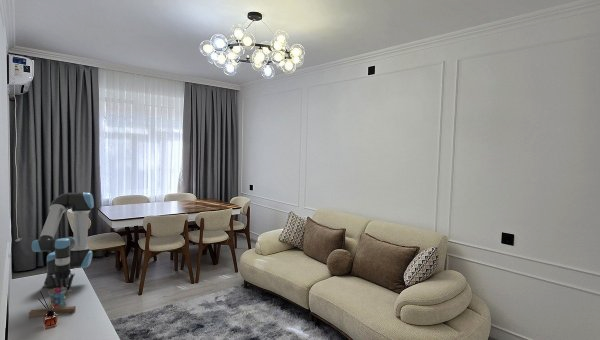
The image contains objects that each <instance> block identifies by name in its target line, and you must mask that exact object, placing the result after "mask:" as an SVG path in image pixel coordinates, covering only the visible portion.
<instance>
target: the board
mask: <svg viewBox="0 0 600 340" xmlns="http://www.w3.org/2000/svg"><path fill="white" fill-rule="evenodd" d="M76 309H77V308H76V305H72V306H64V307H58V308H53V311H54V312H55V313H56V314H61V315H71V314H74V313H76ZM51 310H52V308H49V307H48V308H41V309H40V308H37V309H31V310H30V311H29V312H28V314H29V315H28V316H29V318H36V317H37V318H38V317H39V318H40V317H46V316H45V315H46V314H47V312H48V311H51Z"/></svg>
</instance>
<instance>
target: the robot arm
mask: <svg viewBox="0 0 600 340" xmlns="http://www.w3.org/2000/svg"><path fill="white" fill-rule="evenodd" d="M94 201H95V200H94V196H93V194H92V193H90V192H64V193H62V194H60V195H58V196H57V197H56V198H54V199H53V200H52V202H51V203H50V205H49V212H48V214H47V218H46V220H45V223H44V225H43V228H42V230H41V233H40V236H39V238H38V239H35V240H32V243H31V250H32V252H34V253H42V252H49V254H47V256H46V277H45V280H44V282H43V287H44V288H46V289H53V288H58V287H59V288H61V287H66V288H67V290H68V291H70V290H71V288H72V284H73V279H74V277H75V275H76V273H74V272H73V273H72V272H71V270H72V269H83V268H88V267H89V266H90V265H91V263H92V260H93V250H91V248H90V247H89V246H88V236H89V235H88V233H89V232H88V231H89V213H90V212H91V211H92V209H93V208H94V207H95V205H94V204H95V202H94ZM66 210H71V212H72V213H73V214H74V215H73V236H67V237H62V238H55V236H56V234H57V230H58V229H59V225H60V222H61V220H62V217H63V214H64V213H65V212H66ZM69 289H70V290H69ZM67 290H66V291H67ZM68 291H67V292H66V294H65V296H64V299H65V298H66V297H67V295H68ZM65 300H66V299H65Z"/></svg>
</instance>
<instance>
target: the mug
mask: <svg viewBox="0 0 600 340" xmlns="http://www.w3.org/2000/svg"><path fill="white" fill-rule="evenodd" d="M66 290H67V288H66V287H63V286H62V287H61V288H59V287H58V288H50V289H49V290H47V294H48V295H49V298H50V303H49V306H48V308H52V306H54V308H58V307H66V305H67V303H66V301H67V299H68V298H69V297H70V296H72V293H73V290H72V289H71V288H70V289H69V290H67V291H66ZM68 291H71V292H70V294H68V296H65V294H66V292H67V293H68ZM64 296H65V299H64Z"/></svg>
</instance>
